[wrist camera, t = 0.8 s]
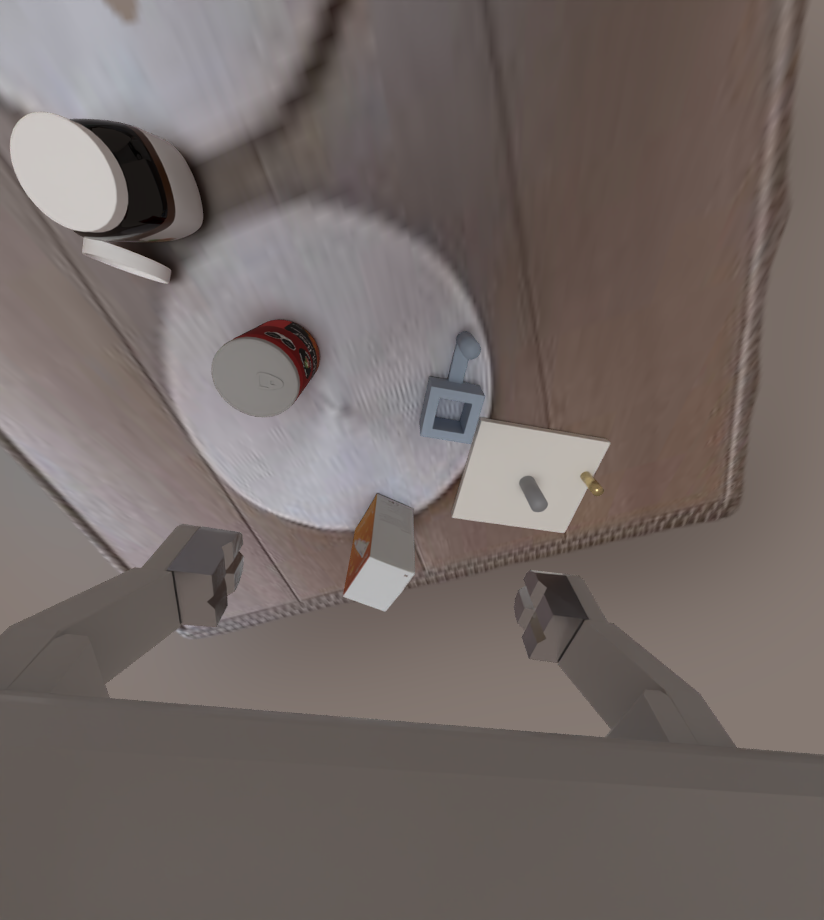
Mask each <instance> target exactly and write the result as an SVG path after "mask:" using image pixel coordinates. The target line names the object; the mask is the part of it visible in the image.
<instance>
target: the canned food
mask: <svg viewBox="0 0 824 920" xmlns="http://www.w3.org/2000/svg"><path fill="white" fill-rule="evenodd" d="M319 360H320V357H319V350H318V347H317V344H316V342H315V340H314V339H313V337H312V336H311V335H310V334H309V333H308V332H307V331H306V330H305V329H304V328H302V327H301V326H299V325H297V324H295V323H293V322H290V321H286V320H273V321H269V322H266V323H264V324H262V325H260V326H258V327H256V328H254V329H252V330H250V331H248V332H246V333H244V334H242V335H240V336H238V337H236V338H234V339H233V340H231V341H229V342H227V343H226V344H224V345H223V346H222V347H221V348H220V349H219V350H218V352H217V353H216V355H215V357H214V359H213V362H212V378H213V382H214V384H215V387H216V389H217V391H218V392H219V394H220V395H221V396H222V398H223V399H224V400H225V401H226V402H227V403H228V404H230V405H231V406H232V407H233V408H235V409H237V410H239V411H240V412H242V413H245V414H248V415H251V416H255V417H271V416H275V415H278V414H281V413H282V412H284V411H286V410H287V409H288V408H289V407H290V406H292V405H293V403H294V402H295V401H296V400H297V398H298V397H299V395H300V394H301V393H302V391H303V390H304V388H305V387H306V386H307V384H308V383H309V381H310V380H311V378H312V377H313V376H314V374H315V373H316V371H317V369H318V366H319Z"/></svg>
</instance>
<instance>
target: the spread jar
mask: <svg viewBox="0 0 824 920" xmlns="http://www.w3.org/2000/svg"><path fill="white" fill-rule="evenodd" d="M10 153H11V160H12V164H13V167H14V171H15V173H16V175H17V178H18V180H19V182H20V184H21V186H22V187H23V189H24V190H25V192H26V194H27V195H28V196H29V198H30V199H31V200H32V201H33V203H34V204H35V205H36V206H37V207H38V208H39V209H40V210H41V211H42V212H43V213H44V214H45V215H47V216H48V217H49V218H51V219H52V220H53V221H55V222H57V223H59V224H60V225H62V226H64V227H67V228H69V229H72V230H73V231H74V232H75V233H77V234H78V235H80V236H82V237H84V240H83V248H82V253H83V254H84V255H86V256H88V257H91V258H93V259H95V260H98V261H100V262H102V263H105V264H107V265H110V266H113V267H115V268H118V269H121V270H124V271H126V272H129V273H132V274H135V275H138V276H141V277H144V278H147V279H151V280H154V281H157V282H161V283H166V284H169V282H170V276H171V269H169V268H168V267H166V266H164V265H162V264H160V263H158V262H156V261H154V260H151V259H149V258H147V257H144V256H142V255H140V254H137V253H134V252H132V251H129V250H127V249H124V248H121V247H118V246H115V245H113V244H110V243H106V242H103V241H115V242H166V241H173V240H177V239H181V238H184V237H186V236H189V235H191V234H193V233H194V232H196V231H197V230H198V229H199V228H200V227H201V225H202V222H203V208H202V202H201V198H200V194H199V190H198V187H197V184H196V182H195V179H194V177H193V174H192V172H191V170H190V168H189V166H188V164H187V163H186V161H185V159H184V158H183V156H182V155H181V153H180V152H179V151H178V150H177V149H176V148H175V147H174V146H173V145H172V144H170V143H169V142H167V141H166V140H164V139H162V138H160V137H158V136H155V135H153V134H151V133H149V132H147V131H144V130H142V129H139V128H137V127H134V126H131V125H128V124H124V123H119V122H114V121H108V120H98V119H67V118H64V117H62V116H59V115H56V114H53V113H48V112H33V113H31V114H28V115H25V116H24V117H23V118H21V119H20V120H19V121H18V122H17V124H16V125H15V127H14V128H13V132H12V135H11V139H10Z"/></svg>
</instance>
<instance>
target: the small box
mask: <svg viewBox="0 0 824 920" xmlns="http://www.w3.org/2000/svg"><path fill="white" fill-rule="evenodd" d="M414 574H415V555H414V518H413V509H412V508H410V507H408V506H406V505H403V504H401V503H399V502H396V501H394V500H392V499H389V498H387V497H385V496H382V495H380V494H376V496H375V498H374V500H373V502H372V503H371V505H370V507H369V508H368V510H367V512H366V513H365V515H364V517H363V518H362V520H361V521H360V523H359V524H358V526H357V528H356V529H355V534H354V539H353V545H352V550H351V556H350V561H349V566H348V572H347V577H346V582H345V588H344V593H343V597H345V598H348V599H351V600H354V601H357V602H360V603H363V604H365V605H368V606H371V607H374V608H377V609H379V610H382V611H386V610H387V609H388V608H389V607H390V605H391V604H392V603H393V602H394V600H395V599H396V598H397V597H398V596H399V595H400V594H401V592H402V591H403V589H404V588H405V586H406V585H407V584H408V582H409V581H410V580H411V578H412V577H413V576H414Z"/></svg>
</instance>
